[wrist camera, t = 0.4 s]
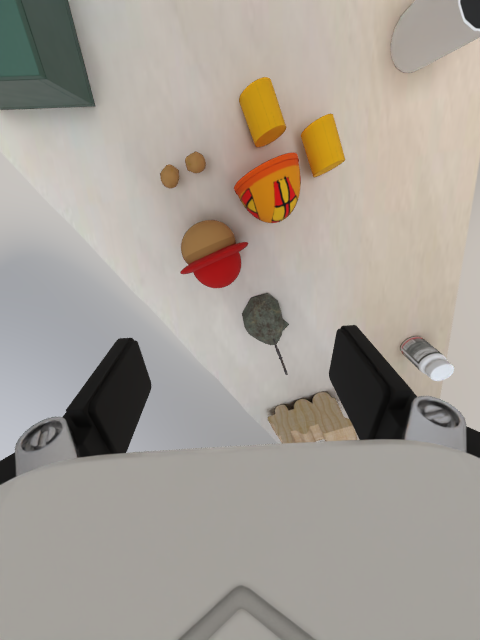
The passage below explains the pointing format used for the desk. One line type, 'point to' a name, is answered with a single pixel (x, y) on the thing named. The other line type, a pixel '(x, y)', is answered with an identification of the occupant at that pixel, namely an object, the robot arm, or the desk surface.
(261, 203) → the toy set
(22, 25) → the lid
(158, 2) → the desk surface
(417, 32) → the drinking glass
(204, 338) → the desk surface
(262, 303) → the sword in stone
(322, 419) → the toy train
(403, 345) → the pill bottle
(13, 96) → the green storage box
